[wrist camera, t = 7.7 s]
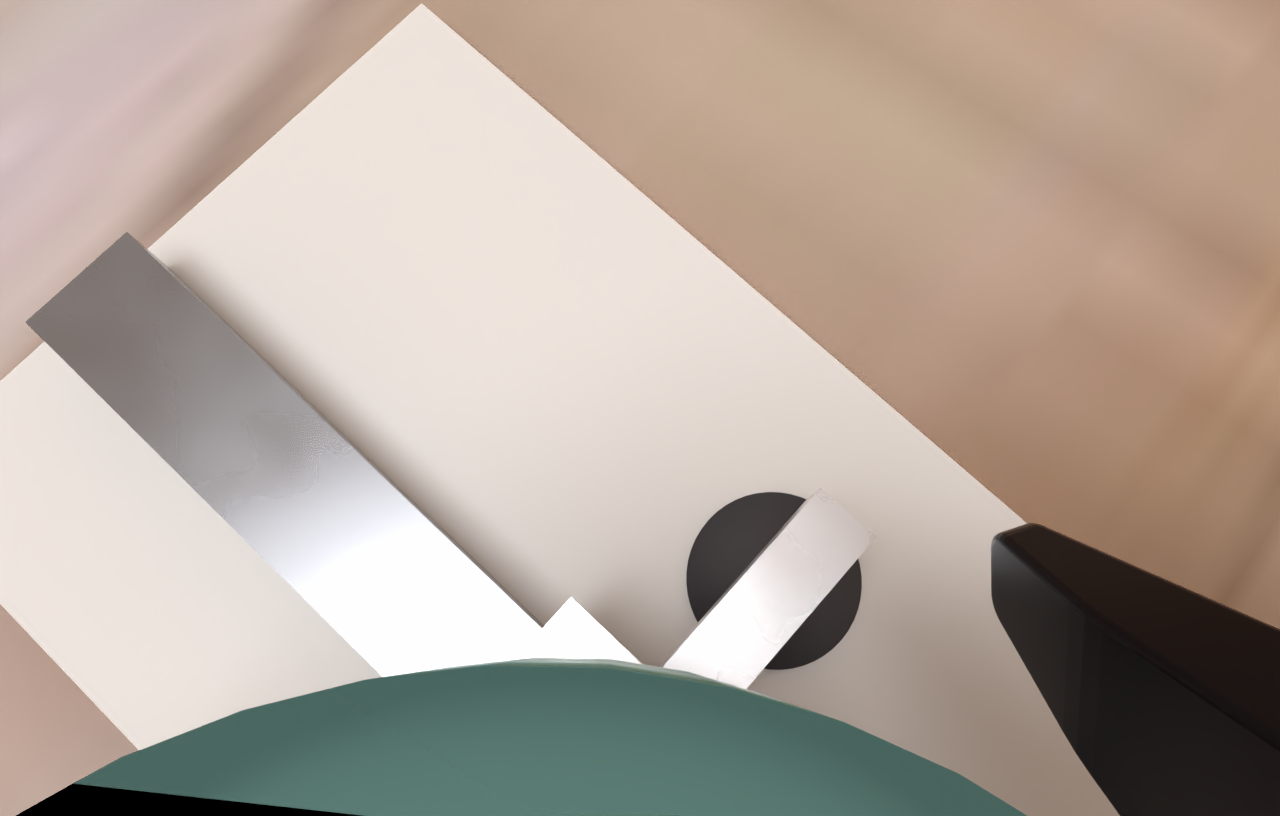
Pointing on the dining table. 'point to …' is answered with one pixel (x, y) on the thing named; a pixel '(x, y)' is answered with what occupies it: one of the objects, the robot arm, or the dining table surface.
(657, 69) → the dining table surface
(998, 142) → the dining table surface
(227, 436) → the rail
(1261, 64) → the dining table surface
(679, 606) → the bolt plate
